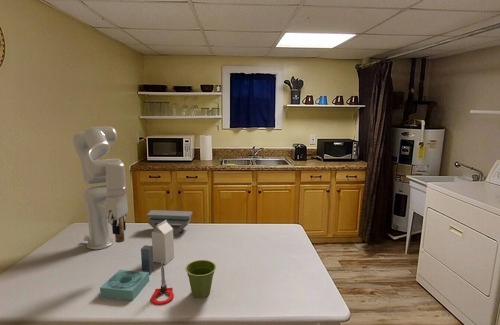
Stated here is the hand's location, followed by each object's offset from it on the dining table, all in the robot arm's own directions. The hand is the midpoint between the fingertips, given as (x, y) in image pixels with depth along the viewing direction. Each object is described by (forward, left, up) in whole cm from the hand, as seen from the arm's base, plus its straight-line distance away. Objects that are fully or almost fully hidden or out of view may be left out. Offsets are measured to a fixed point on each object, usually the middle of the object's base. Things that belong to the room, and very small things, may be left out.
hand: (119, 231), depth 135 cm
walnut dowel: (0, 0, -4) cm, 4 cm away
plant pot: (+39, -9, -19) cm, 45 cm away
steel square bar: (+11, +2, -19) cm, 22 cm away
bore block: (+8, -11, -19) cm, 24 cm away
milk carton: (+13, +14, -19) cm, 27 cm away
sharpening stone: (+3, +48, -19) cm, 51 cm away
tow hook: (+25, -14, -20) cm, 35 cm away
